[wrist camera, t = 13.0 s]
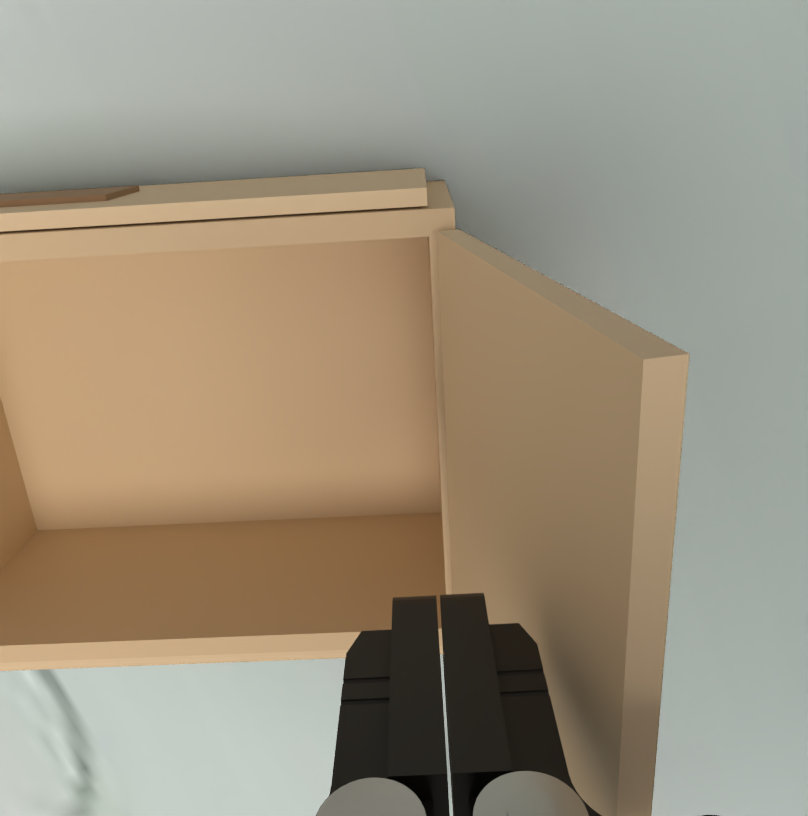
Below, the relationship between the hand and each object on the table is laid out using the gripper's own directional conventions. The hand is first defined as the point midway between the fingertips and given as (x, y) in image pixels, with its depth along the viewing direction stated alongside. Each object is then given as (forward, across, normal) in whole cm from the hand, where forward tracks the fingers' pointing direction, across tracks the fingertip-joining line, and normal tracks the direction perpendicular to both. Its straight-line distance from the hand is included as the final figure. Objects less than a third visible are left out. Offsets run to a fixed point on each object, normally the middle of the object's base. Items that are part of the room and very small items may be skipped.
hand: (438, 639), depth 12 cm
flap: (+7, -1, 0) cm, 7 cm away
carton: (+14, +7, 0) cm, 16 cm away
